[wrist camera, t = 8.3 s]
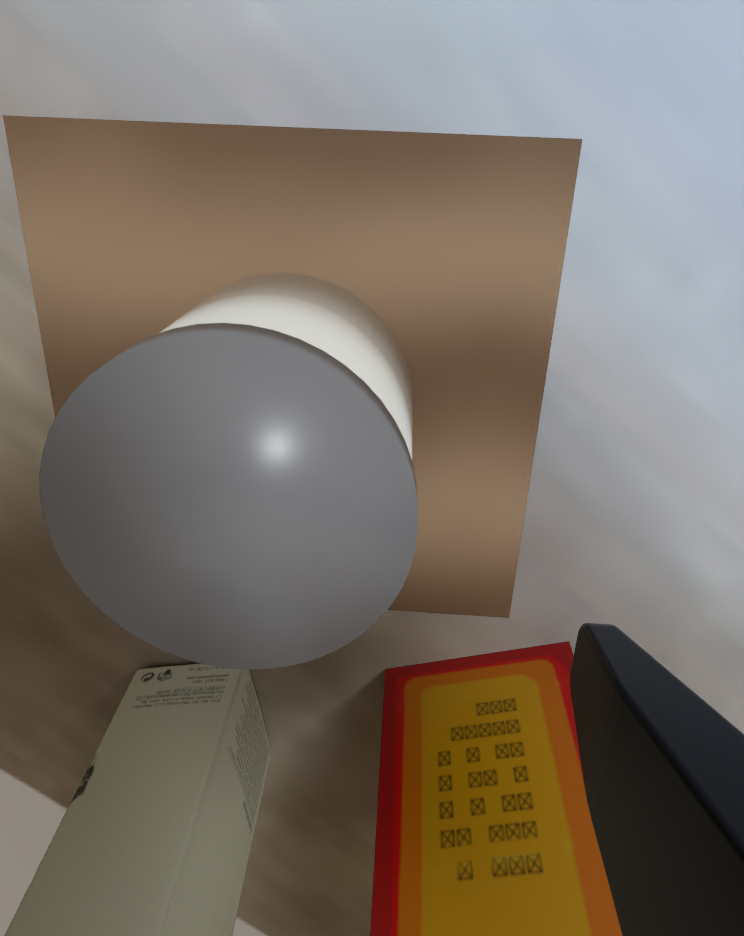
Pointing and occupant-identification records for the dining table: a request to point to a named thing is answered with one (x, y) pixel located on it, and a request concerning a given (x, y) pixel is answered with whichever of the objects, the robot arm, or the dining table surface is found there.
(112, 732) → the box
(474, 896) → the baking soda box
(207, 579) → the ceramic jar
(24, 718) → the dining table surface
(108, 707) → the dining table surface
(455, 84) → the dining table surface
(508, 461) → the walnut block
